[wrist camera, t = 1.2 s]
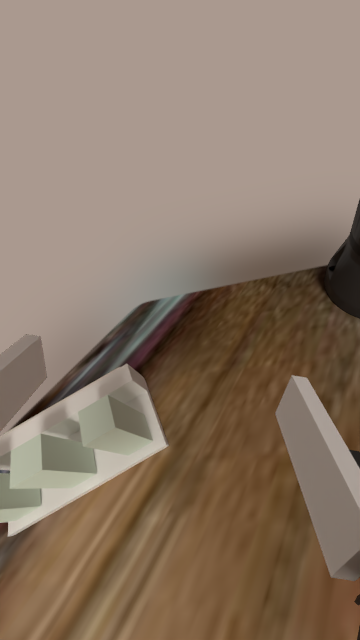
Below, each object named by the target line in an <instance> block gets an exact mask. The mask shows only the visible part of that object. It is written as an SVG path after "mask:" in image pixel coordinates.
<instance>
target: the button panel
mask: <svg viewBox="0 0 360 640" xmlns="http://www.w3.org/2000/svg"><path fill="white" fill-rule="evenodd" d="M106 395H109V396H111V397H113V398H115V399H117V400H118V401H120V402H122V403H124V404H126V405H128V406H129V407H131V408H133V409H135V410H137V411H139V412H141V413H142V414H144V415H145V418H146V421H147V424H148V427H149V430H150V433H151V436H152V439H153V441H152V442H151V443H149V444H147V445H146V446H144V447H142V448H140V449H139V450H137V451H135V452H134V453H132V454H130V455H128V456H127V455H123V454H118V453H113V452H108V451H103V450H98V449H93V454H94V460H95V466H96V472H97V474H96V475H94V476H92V477H90V478H89V479H87V480H85V481H83V482H82V483H80V484H78V485H77V486H75V487H73V488H40V500H41V506H40V507H39V508H37V509H35V510H33V511H32V512H30V513H28V514H26V515H25V516H23V517H21V518H20V519H18V520H16V521H10V522H8V536H13V535H15V534H17V533H19V532H21V531H22V530H24V529H26V528H28V527H29V526H31V525H33V524H34V523H36V522H38V521H40V520H41V519H43V518H45V517H47V516H48V515H50V514H52V513H53V512H55V511H57V510H59V509H60V508H62V507H64V506H66V505H67V504H69V503H71V502H72V501H74V500H76V499H78V498H79V497H81V496H83V495H85V494H86V493H88V492H90V491H91V490H93V489H95V488H97V487H98V486H100V485H102V484H104V483H105V482H107V481H109V480H110V479H112V478H114V477H116V476H117V475H119V474H121V473H123V472H124V471H126V470H128V469H129V468H131V467H133V466H135V465H136V464H138V463H140V462H141V461H143V460H145V459H147V458H148V457H150V456H152V455H154V454H155V453H157V452H159V451H160V450H162V449H164V448H166V447H167V446H169V445H168V442H167V439H166V436H165V434H164V431H163V428H162V425H161V423H160V420H159V417H158V414H157V412H156V409H155V406H154V403H153V401H152V398H151V395H150V392H149V390H148V387H147V384H146V381H145V379H144V377H143V376H142V375H140V374H139V373H138V372H137V371H135V370H134V369H133V368H132V367H131V366H129V365H128V364H125V365H124V366H122V367H120V368H118V369H117V370H115V371H113V372H111V373H110V374H108V375H106V376H105V377H103V378H101V379H99V380H98V381H96V382H94V383H92V384H91V385H89V386H87V387H86V388H84V389H82V390H80V391H79V392H77V393H75V394H74V395H72V396H70V397H68V398H67V399H65V400H63V401H61V402H60V403H58V404H56V405H55V406H53V407H51V408H49V409H48V410H46V411H44V412H42V413H41V414H39V415H37V416H36V417H34V418H32V419H30V420H29V421H27V422H25V423H24V424H22V425H20V426H18V427H17V428H15V429H13V430H11V431H10V432H8V433H6V434H5V435H3V436H1V437H0V470H10V465H11V450H13V449H15V448H16V447H18V446H20V445H22V444H23V443H25V442H27V441H29V440H30V439H32V438H34V437H35V436H37V435H39V434H46V435H50V436H55V437H59V438H63V439H68V440H72V441H77V442H81V443H82V437H81V430H80V423H79V416H78V412H79V411H80V410H82V409H84V408H85V407H87V406H89V405H91V404H92V403H94V402H96V401H98V400H99V399H101V398H103V397H104V396H106Z"/></svg>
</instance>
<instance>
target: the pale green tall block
mask: <svg viewBox="0 0 360 640" xmlns="http://www.w3.org/2000/svg"><path fill="white" fill-rule="evenodd" d="M78 416H79V423H80V430H81V437H82V444H83V446H84V447H89V448H93V449H98V450H103V451H108V452H113V453H118V454H123V455H127V456H128V455H130V454H132V453H134V452H135V451H137V450H139V449H140V448H142V447H144V446H146V445H147V444H149V443H151V442H152V441H153V439H152V436H151V433H150V430H149V427H148V424H147V421H146V418H145V415H144V414H142V413H141V412H139V411H137V410H135V409H133V408H131V407H129V406H128V405H126V404H124V403H122V402H120V401H118V400H117V399H115V398H113V397H111V396H109V395H106V396H104V397H103V398H101V399H99V400H98V401H96V402H94V403H92V404H91V405H89V406H87V407H85V408H84V409H82V410H80V411H79V412H78Z"/></svg>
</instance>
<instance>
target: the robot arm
mask: <svg viewBox="0 0 360 640" xmlns="http://www.w3.org/2000/svg"><path fill="white" fill-rule="evenodd" d="M324 283H325V289H326V291H327V294H328V295H329V297H330V298H331V300H332V301H333V302H334V303H335V304H336V305H337V306H338V307H340V308H341V309H342V310H344V311H345V312H347V313H349V314H351V315H353V316H355V317H358V318H360V200H359V204H358V207H357V211H356V214H355V218H354V221H353V225H352V229H351V232H350V235H349V237H348V238H347V239H346V240H345V242H344V243H343V244H342V246H341V247H340V248H339V249H338V251H337V252H336V253H335V255H334V256H333V257H332V258H331V260H330V262H329V264H328V266H327V270H326V274H325V280H324ZM46 378H47V374H46V367H45V361H44V355H43V348H42V342H41V337H40V336H35V335H28V334H26V335H25V336H23V337H22V338H21V339H20V340H18V341H17V342H16V343H14V344H13V345H12V346H10V347H9V348H8V349H7V350H5V351H4V352H3V353H1V354H0V431H1V430H2V429H3V428H4V427H5V426H6V424H7V423H8V422H9V421H10V420H11V419H12V418H13V416H14V415H15V414H16V413H17V412H18V411H19V409H20V408H21V407H22V406H23V405H24V404H25V403H26V401H27V400H28V399H29V398H30V397H31V396H32V394H33V393H34V392H35V391H36V389H37V388H38V387H39V386H40V385H41V384H42V383H43V381H44V380H45V379H46ZM275 414H276V417H277V420H278V423H279V426H280V429H281V432H282V435H283V438H284V440H285V443H286V446H287V449H288V452H289V455H290V458H291V461H292V464H293V467H294V470H295V473H296V476H297V479H298V482H299V485H300V487H301V490H302V493H303V496H304V499H305V502H306V505H307V508H308V511H309V514H310V517H311V520H312V523H313V526H314V529H315V532H316V534H317V537H318V540H319V543H320V546H321V549H322V552H323V555H324V558H325V561H326V564H327V567H328V570H329V573H330V576H331V577H333V578H339V579H346V580H352V581H355V580H357V579H358V578H359V577H360V452H359V451H353V450H348V448H347V446H346V444H345V443H344V441H343V439H342V437H341V436H340V434H339V432H338V431H337V429H336V427H335V425H334V424H333V422H332V420H331V419H330V417H329V415H328V413H327V412H326V410H325V408H324V407H323V405H322V403H321V401H320V400H319V398H318V396H317V395H316V393H315V391H314V389H313V388H312V386H311V384H310V383H309V381H308V379H307V378H305V377H299V376H291V379H290V381H289V383H288V385H287V388H286V390H285V392H284V395H283V397H282V399H281V401H280V404H279V406H278V408H277V411H276V413H275ZM354 602H355V603H356V604H357V605H360V594H359V595H358V596H357V598H356V600H355V601H354ZM357 640H360V627H359V632H358V638H357Z"/></svg>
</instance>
